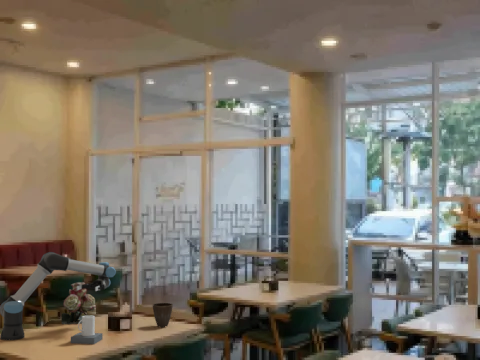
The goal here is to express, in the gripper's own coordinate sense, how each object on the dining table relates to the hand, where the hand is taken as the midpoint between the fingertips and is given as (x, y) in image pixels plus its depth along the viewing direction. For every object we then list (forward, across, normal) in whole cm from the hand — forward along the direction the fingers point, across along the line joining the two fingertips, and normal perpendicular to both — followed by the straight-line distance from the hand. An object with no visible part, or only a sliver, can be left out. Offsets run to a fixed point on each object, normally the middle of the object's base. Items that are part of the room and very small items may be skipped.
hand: (86, 288), depth 405 cm
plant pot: (-37, -44, -31) cm, 66 cm away
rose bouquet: (-44, +24, -31) cm, 59 cm away
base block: (+20, -10, -31) cm, 38 cm away
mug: (+20, -9, -28) cm, 35 cm away
